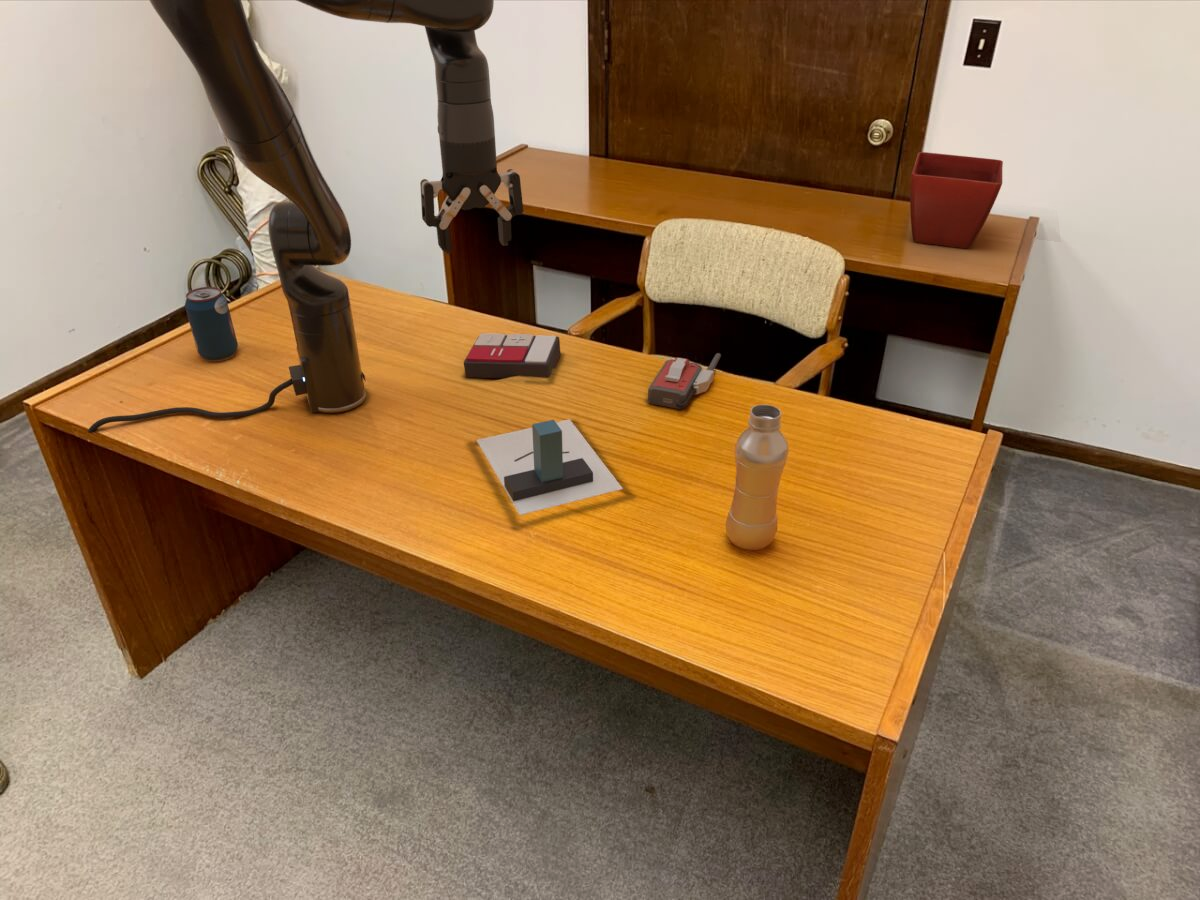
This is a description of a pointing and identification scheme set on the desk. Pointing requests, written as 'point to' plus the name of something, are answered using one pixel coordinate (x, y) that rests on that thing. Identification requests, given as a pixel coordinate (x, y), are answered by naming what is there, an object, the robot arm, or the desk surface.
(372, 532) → the desk surface
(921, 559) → the desk surface
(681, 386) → the walkie-talkie
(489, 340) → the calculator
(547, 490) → the eraser
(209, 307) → the soda can
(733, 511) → the plastic bottle
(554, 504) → the whiteboard
